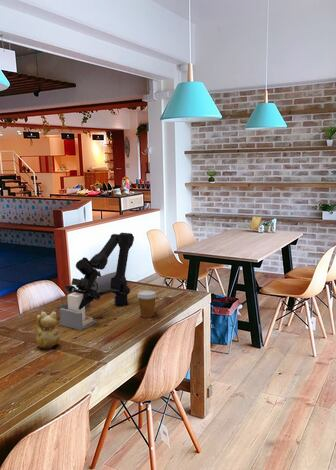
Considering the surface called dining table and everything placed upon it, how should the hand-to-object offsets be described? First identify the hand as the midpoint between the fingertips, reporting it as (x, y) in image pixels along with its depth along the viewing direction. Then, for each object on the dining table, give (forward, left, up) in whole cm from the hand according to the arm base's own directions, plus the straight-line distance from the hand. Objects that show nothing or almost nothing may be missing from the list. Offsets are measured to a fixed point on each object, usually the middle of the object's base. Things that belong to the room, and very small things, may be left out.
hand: (74, 308), depth 201 cm
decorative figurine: (+14, +20, -9) cm, 26 cm away
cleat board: (-2, -1, -9) cm, 9 cm away
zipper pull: (-2, -19, -9) cm, 22 cm away
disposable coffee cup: (-36, 0, -9) cm, 37 cm away
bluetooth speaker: (-26, -50, -9) cm, 57 cm away
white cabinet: (-1, -1, -7) cm, 7 cm away
